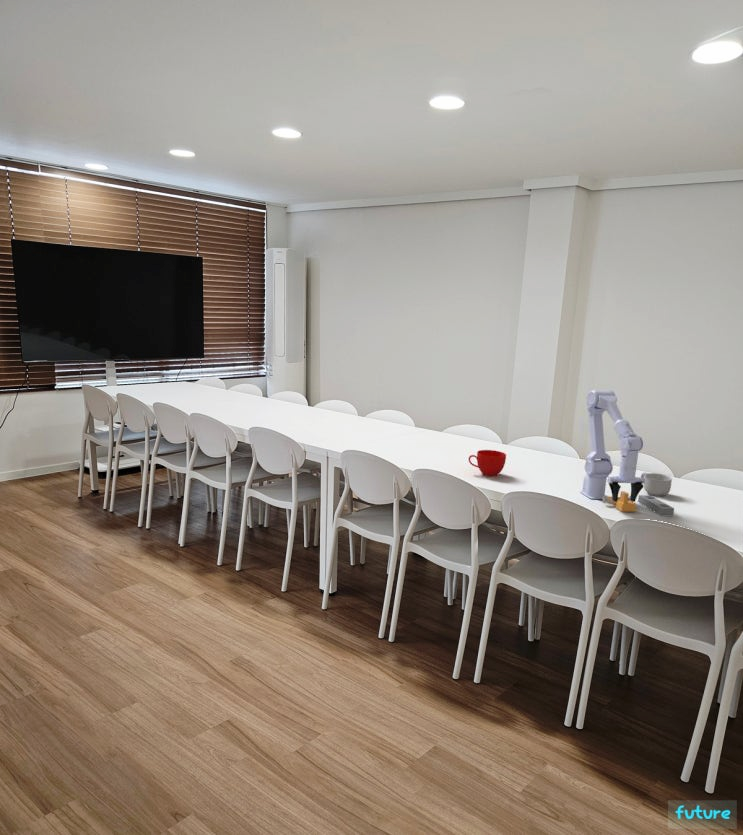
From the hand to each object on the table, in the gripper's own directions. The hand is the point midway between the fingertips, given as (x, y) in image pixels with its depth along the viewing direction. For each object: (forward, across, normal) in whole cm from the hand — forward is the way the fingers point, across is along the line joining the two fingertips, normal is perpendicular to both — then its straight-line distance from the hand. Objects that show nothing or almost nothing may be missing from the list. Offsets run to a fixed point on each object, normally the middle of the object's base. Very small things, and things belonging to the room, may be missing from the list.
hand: (623, 500), depth 238 cm
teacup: (+4, +28, +23) cm, 36 cm away
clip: (+4, +1, +5) cm, 6 cm away
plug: (+4, +1, 0) cm, 4 cm away
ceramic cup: (+4, -40, +48) cm, 62 cm away
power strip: (+4, +15, +2) cm, 16 cm away
